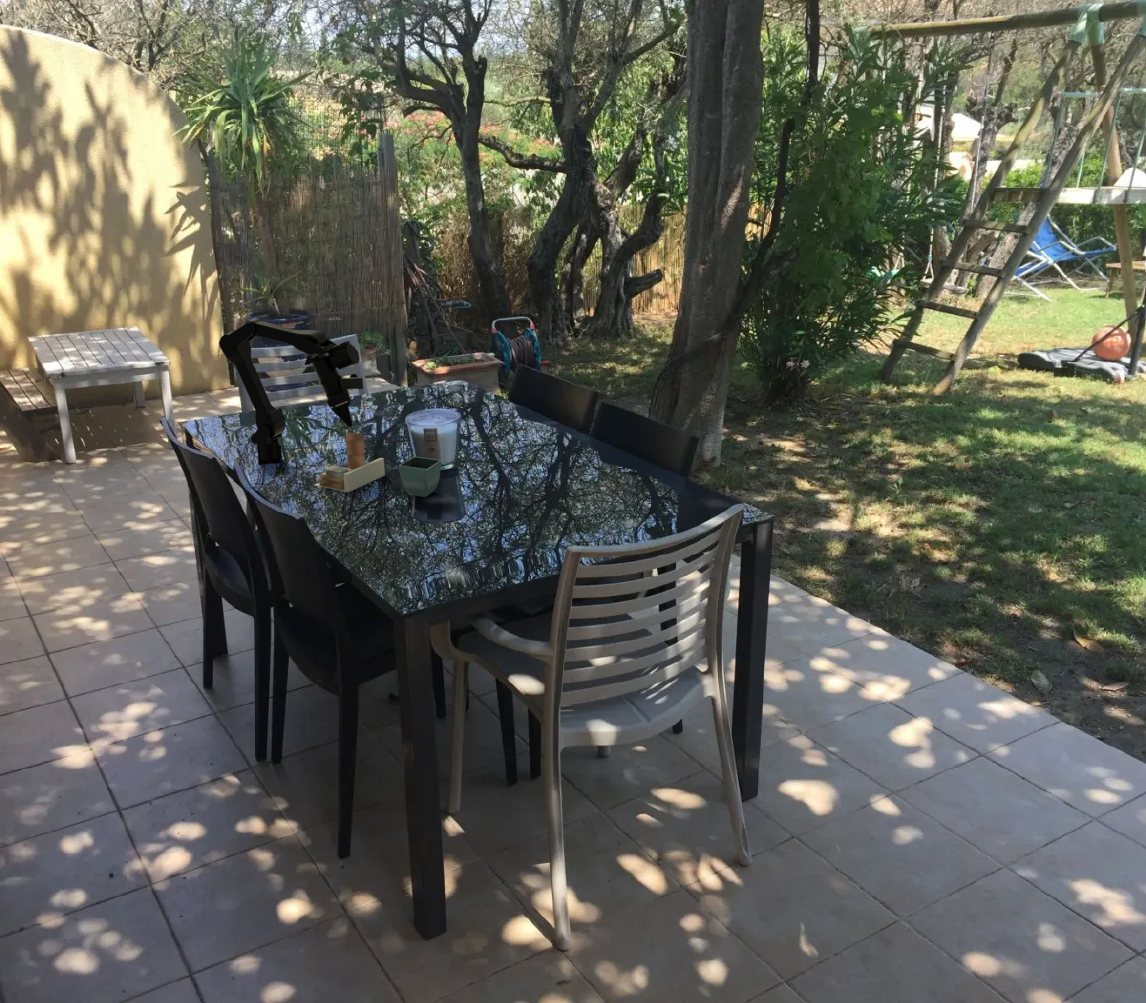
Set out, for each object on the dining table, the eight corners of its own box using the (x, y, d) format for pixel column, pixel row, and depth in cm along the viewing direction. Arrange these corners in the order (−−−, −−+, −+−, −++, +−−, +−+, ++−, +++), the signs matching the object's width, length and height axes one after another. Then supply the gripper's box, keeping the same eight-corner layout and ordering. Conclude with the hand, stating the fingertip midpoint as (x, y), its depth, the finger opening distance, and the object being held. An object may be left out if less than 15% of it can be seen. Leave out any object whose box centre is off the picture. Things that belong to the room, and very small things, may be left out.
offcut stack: (319, 485, 273) (317, 468, 271) (332, 479, 277) (330, 463, 276) (342, 490, 269) (340, 473, 268) (354, 484, 274) (353, 467, 272)
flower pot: (443, 490, 273) (442, 459, 270) (428, 501, 265) (427, 469, 262) (414, 486, 276) (413, 456, 272) (399, 497, 268) (397, 465, 265)
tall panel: (348, 474, 281) (345, 434, 277) (353, 472, 283) (350, 432, 279) (361, 477, 279) (358, 436, 275) (365, 475, 281) (363, 434, 277)
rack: (314, 488, 273) (312, 467, 271) (351, 471, 287) (350, 452, 284) (348, 495, 268) (346, 474, 266) (384, 478, 282) (383, 458, 279)
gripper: (355, 365, 274) (378, 417, 277) (354, 362, 291) (375, 411, 295) (317, 380, 272) (340, 432, 276) (318, 376, 290) (340, 425, 294)
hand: (350, 424), depth 285 cm, fingers open, 9 cm apart
